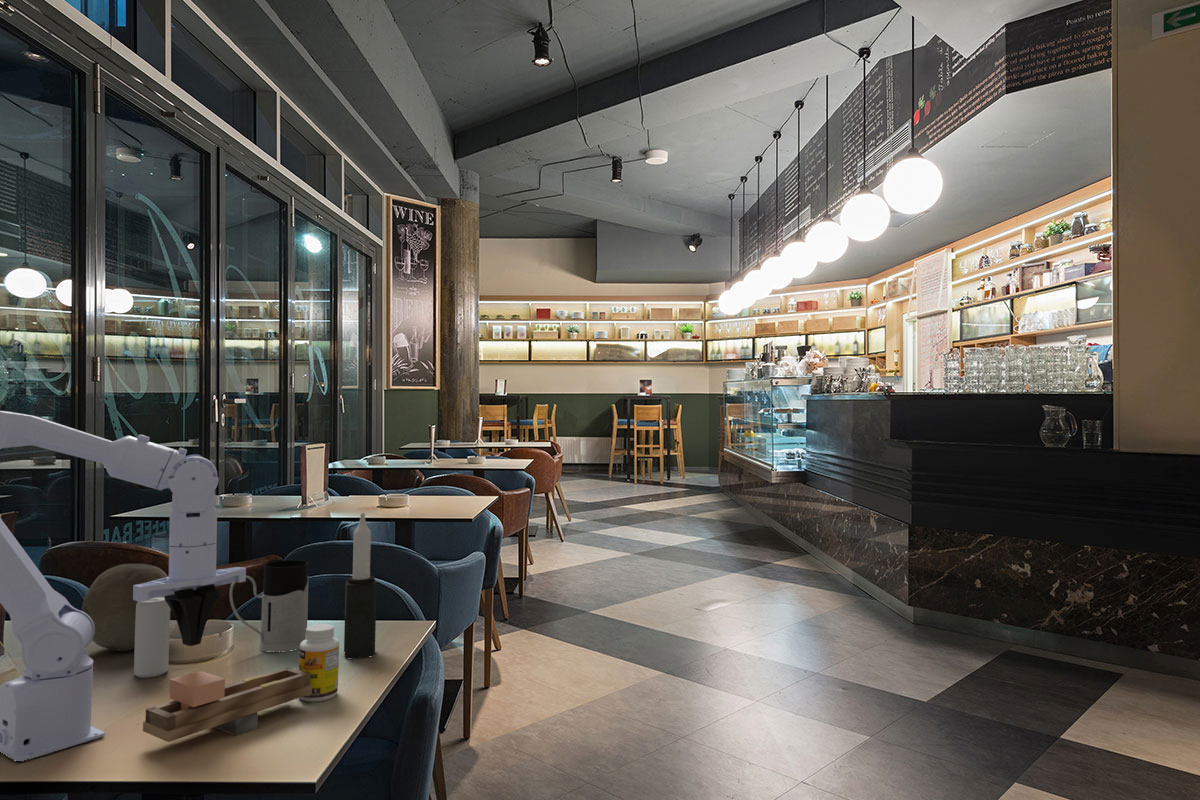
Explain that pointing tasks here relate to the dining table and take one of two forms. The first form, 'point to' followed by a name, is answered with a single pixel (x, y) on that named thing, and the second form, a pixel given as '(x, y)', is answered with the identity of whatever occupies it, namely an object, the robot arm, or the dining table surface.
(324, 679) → the supplement bottle
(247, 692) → the beam
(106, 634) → the cantaloupe
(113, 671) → the dining table surface
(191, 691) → the rider
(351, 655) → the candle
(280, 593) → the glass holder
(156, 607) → the beverage can
